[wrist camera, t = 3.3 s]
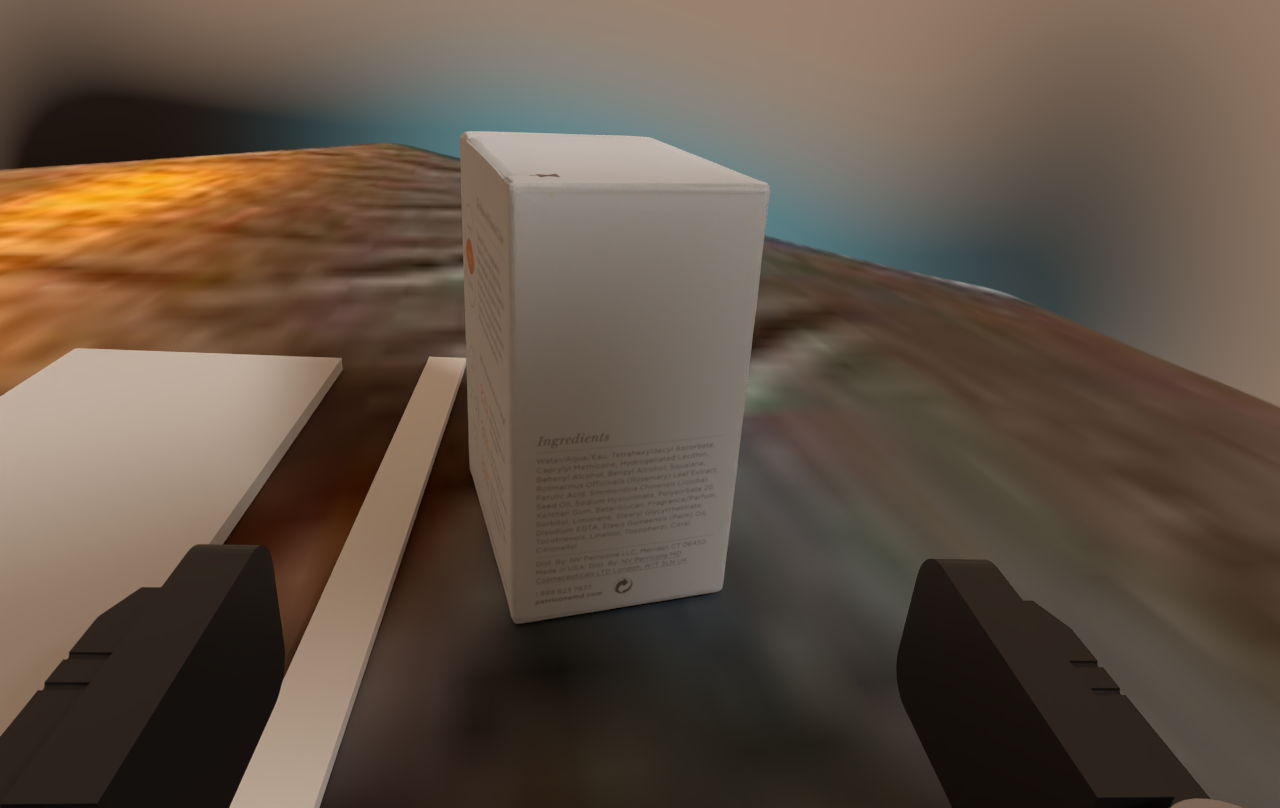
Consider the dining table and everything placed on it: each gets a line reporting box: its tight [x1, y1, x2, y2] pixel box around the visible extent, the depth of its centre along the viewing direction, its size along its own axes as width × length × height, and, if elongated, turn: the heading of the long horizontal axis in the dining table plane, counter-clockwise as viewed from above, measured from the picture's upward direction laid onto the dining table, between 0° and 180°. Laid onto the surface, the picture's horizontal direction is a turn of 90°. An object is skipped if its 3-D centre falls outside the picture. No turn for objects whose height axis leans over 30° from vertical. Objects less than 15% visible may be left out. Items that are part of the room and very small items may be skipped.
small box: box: [460, 131, 770, 624], centre depth 22 cm, size 8×6×10 cm
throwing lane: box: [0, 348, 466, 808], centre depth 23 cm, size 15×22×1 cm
